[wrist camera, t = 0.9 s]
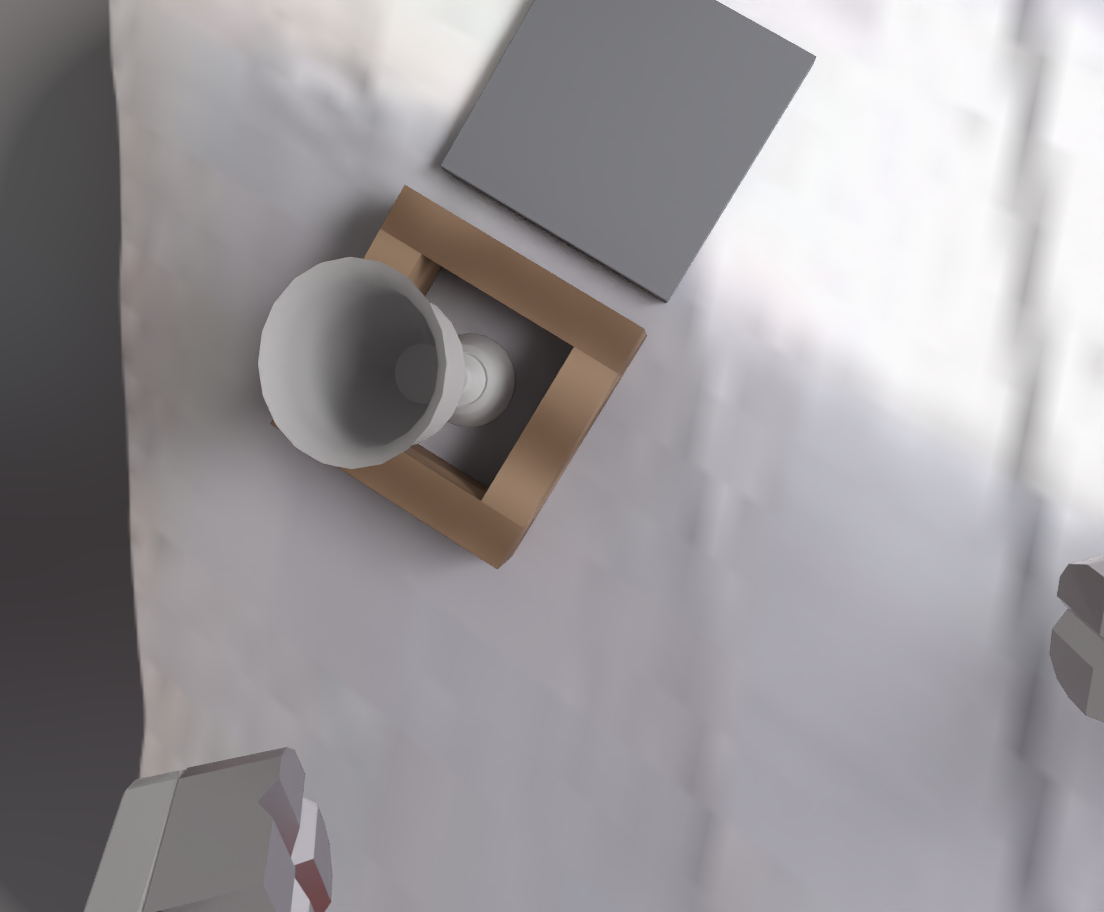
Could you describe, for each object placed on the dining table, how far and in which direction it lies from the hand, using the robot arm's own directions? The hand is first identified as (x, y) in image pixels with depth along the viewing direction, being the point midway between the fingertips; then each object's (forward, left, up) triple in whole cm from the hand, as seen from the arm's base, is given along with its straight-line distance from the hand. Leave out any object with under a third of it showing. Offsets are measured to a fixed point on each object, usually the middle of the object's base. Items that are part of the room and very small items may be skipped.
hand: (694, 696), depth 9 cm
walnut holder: (+2, -12, -38) cm, 40 cm away
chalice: (+2, -12, -39) cm, 41 cm away
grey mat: (-14, -12, -38) cm, 43 cm away
